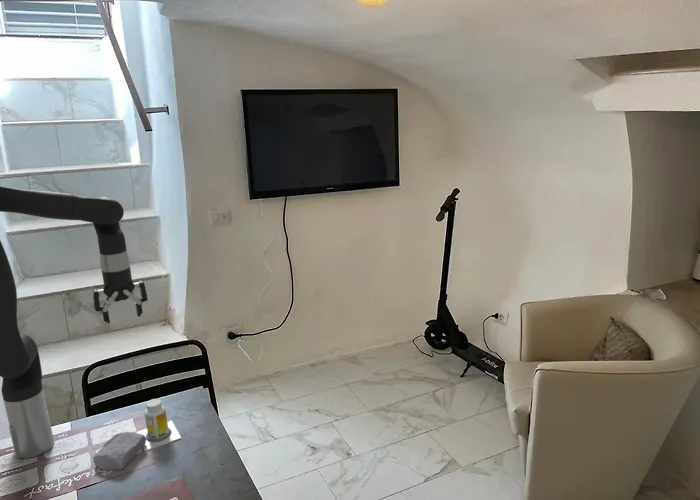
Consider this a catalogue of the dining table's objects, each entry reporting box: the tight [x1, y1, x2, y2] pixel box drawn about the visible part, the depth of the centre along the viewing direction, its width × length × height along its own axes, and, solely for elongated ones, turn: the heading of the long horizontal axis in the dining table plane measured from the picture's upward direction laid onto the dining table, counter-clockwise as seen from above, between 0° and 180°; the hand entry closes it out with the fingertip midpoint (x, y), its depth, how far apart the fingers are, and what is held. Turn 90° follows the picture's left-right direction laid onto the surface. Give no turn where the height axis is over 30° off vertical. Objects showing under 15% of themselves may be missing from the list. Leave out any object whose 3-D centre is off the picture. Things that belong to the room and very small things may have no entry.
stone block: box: [92, 431, 146, 471], centre depth 143 cm, size 12×5×10 cm
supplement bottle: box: [144, 398, 168, 439], centre depth 151 cm, size 6×6×10 cm
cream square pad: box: [136, 420, 182, 452], centre depth 152 cm, size 10×10×1 cm
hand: (123, 319), depth 157 cm, fingers open, 8 cm apart
